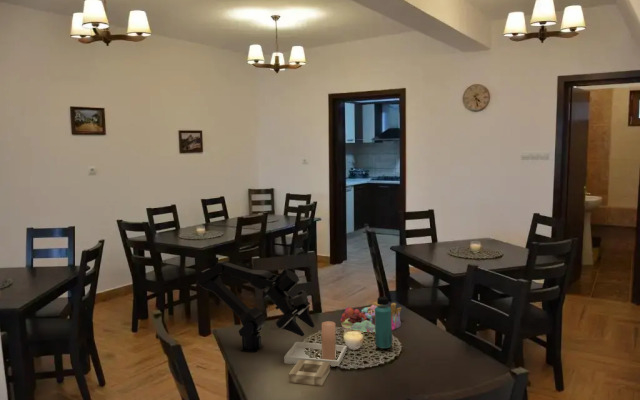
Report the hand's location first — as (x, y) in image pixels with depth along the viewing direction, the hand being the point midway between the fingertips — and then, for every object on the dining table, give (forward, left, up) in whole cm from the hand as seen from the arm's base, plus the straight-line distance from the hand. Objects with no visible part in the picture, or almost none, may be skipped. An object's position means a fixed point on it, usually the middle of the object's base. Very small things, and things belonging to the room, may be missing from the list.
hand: (308, 331), depth 186 cm
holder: (+5, -15, -10) cm, 19 cm away
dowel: (+8, -1, -9) cm, 12 cm away
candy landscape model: (+17, +38, -10) cm, 43 cm away
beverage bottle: (+26, +13, -10) cm, 30 cm away
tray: (+3, 0, -10) cm, 10 cm away
